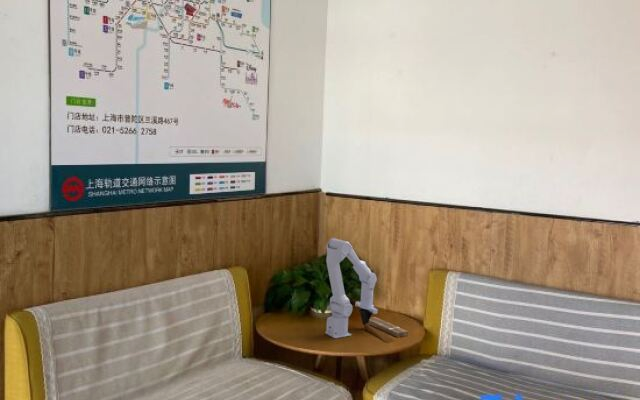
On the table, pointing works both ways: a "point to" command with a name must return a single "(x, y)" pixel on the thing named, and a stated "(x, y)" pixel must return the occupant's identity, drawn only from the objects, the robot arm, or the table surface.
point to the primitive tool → (378, 333)
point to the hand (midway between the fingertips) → (365, 324)
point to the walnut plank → (387, 327)
